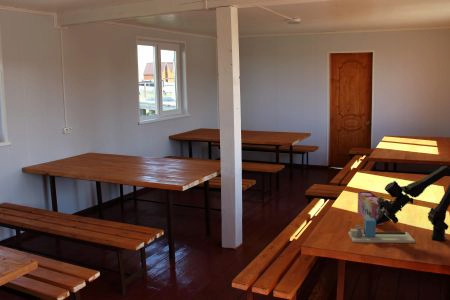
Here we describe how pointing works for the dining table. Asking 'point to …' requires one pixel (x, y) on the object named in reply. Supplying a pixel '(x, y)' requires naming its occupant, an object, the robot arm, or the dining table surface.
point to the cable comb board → (380, 236)
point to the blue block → (370, 227)
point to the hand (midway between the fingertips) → (375, 223)
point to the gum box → (368, 205)
